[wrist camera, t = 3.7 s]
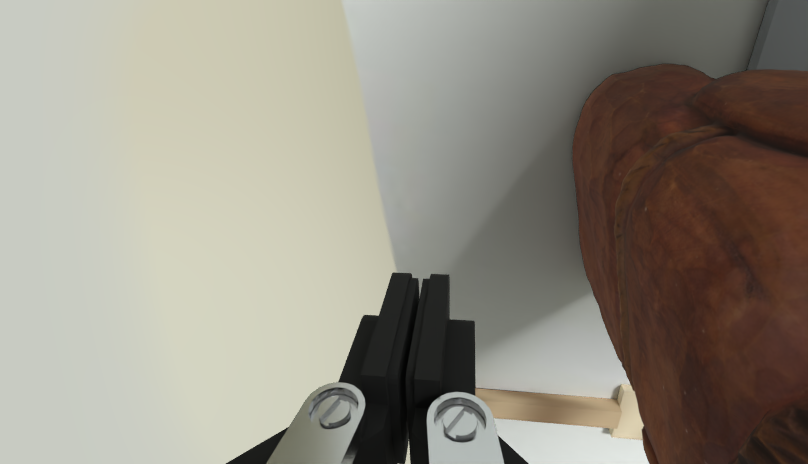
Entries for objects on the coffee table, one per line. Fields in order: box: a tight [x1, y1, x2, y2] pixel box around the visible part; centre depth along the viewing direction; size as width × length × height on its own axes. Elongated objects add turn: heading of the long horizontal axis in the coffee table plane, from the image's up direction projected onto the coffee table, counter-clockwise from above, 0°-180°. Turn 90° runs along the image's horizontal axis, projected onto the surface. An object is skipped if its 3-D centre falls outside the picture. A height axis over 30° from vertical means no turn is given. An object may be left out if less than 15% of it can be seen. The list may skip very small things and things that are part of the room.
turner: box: [475, 384, 644, 440], centre depth 27 cm, size 18×4×1 cm, turn 93°
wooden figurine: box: [573, 64, 808, 464], centre depth 12 cm, size 12×6×18 cm, turn 14°
